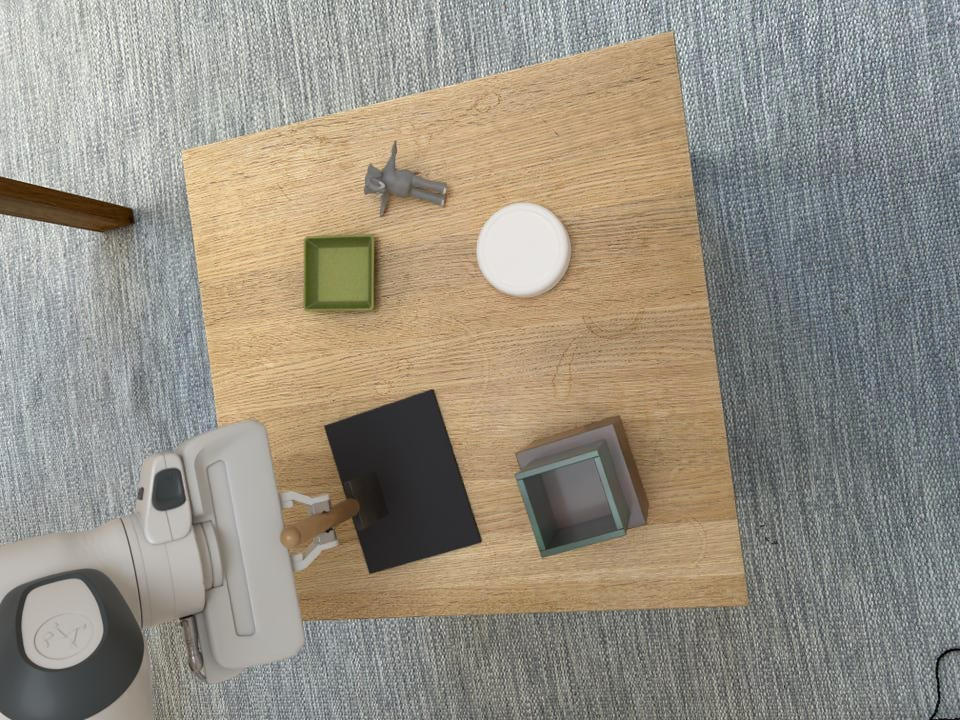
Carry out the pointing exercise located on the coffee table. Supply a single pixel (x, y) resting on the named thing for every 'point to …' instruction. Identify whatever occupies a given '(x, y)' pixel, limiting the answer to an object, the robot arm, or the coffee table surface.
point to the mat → (406, 481)
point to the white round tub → (523, 250)
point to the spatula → (342, 512)
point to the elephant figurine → (400, 183)
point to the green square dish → (339, 273)
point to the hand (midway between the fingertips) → (332, 518)
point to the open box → (581, 487)
